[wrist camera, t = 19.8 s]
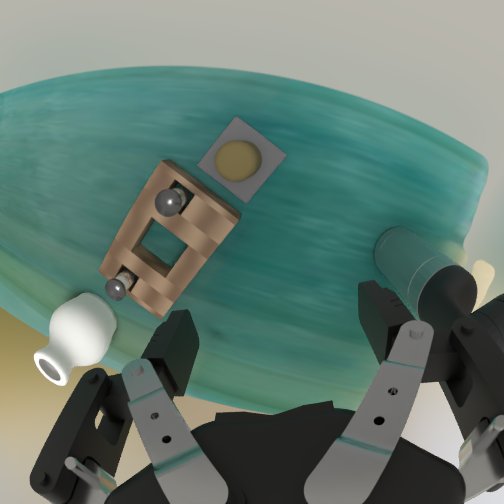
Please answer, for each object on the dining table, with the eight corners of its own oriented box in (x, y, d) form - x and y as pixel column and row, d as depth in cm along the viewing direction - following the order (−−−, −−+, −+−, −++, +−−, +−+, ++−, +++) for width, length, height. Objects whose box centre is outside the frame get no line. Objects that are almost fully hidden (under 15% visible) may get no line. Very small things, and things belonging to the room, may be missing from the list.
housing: (241, 214, 44) (239, 220, 41) (167, 308, 52) (160, 319, 48) (169, 159, 42) (161, 160, 38) (108, 263, 49) (98, 271, 45)
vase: (132, 336, 55) (93, 399, 37) (91, 342, 57) (52, 395, 39) (101, 281, 51) (46, 336, 32) (62, 294, 53) (12, 341, 34)
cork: (262, 177, 42) (261, 185, 31) (224, 179, 42) (210, 188, 32) (261, 139, 40) (259, 134, 29) (221, 141, 40) (207, 138, 30)
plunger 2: (145, 270, 48) (127, 290, 41) (137, 283, 49) (119, 304, 42) (130, 257, 47) (109, 276, 40) (122, 271, 49) (102, 291, 41)
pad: (286, 155, 41) (286, 155, 40) (246, 202, 44) (246, 203, 43) (236, 116, 39) (236, 116, 38) (197, 165, 42) (197, 165, 41)
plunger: (199, 191, 43) (185, 200, 35) (186, 209, 44) (170, 222, 36) (181, 177, 42) (164, 183, 34) (168, 196, 43) (149, 206, 36)
